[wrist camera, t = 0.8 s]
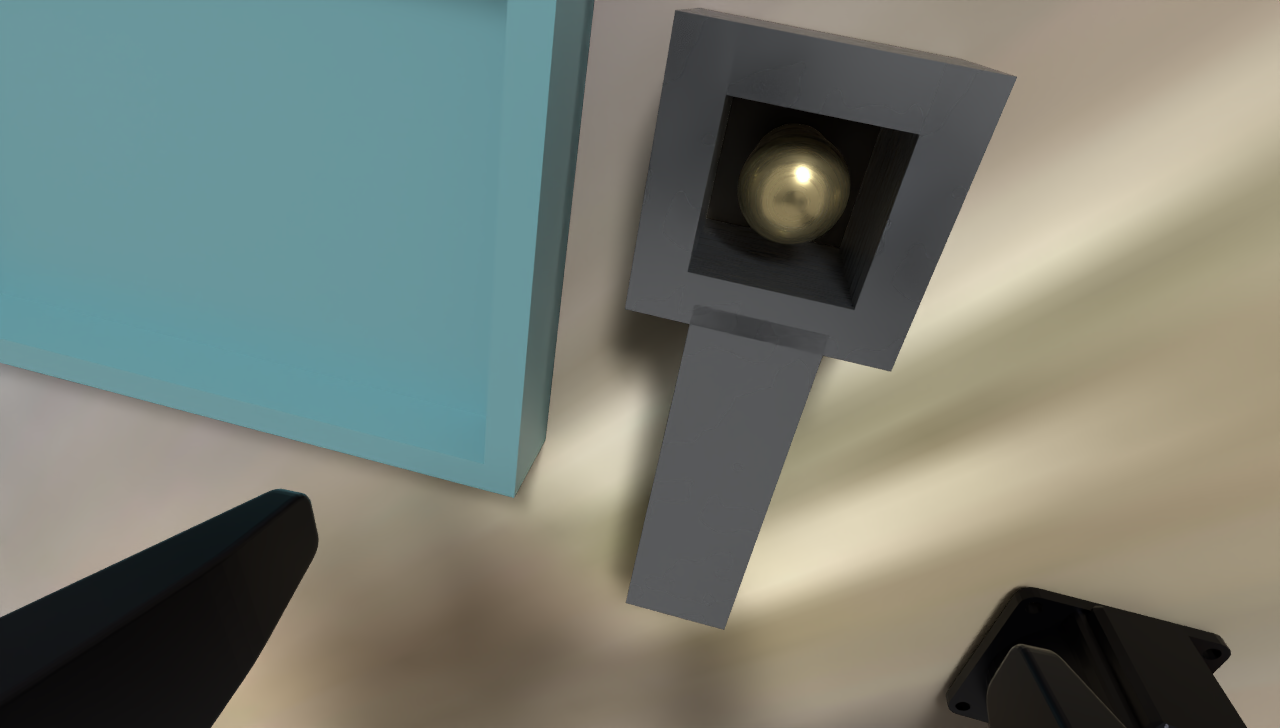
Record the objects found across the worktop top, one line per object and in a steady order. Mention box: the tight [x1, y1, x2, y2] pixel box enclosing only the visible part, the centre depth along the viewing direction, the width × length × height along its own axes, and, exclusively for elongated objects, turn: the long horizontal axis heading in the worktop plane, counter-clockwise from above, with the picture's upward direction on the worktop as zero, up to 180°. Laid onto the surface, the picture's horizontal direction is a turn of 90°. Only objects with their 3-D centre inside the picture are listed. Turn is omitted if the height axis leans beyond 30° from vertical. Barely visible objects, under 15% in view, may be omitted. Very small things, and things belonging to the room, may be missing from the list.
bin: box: [0, 0, 594, 498], centre depth 18 cm, size 16×23×3 cm
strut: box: [625, 8, 1017, 630], centre depth 17 cm, size 16×6×4 cm, turn 171°
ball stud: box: [738, 123, 850, 244], centre depth 15 cm, size 2×2×4 cm
